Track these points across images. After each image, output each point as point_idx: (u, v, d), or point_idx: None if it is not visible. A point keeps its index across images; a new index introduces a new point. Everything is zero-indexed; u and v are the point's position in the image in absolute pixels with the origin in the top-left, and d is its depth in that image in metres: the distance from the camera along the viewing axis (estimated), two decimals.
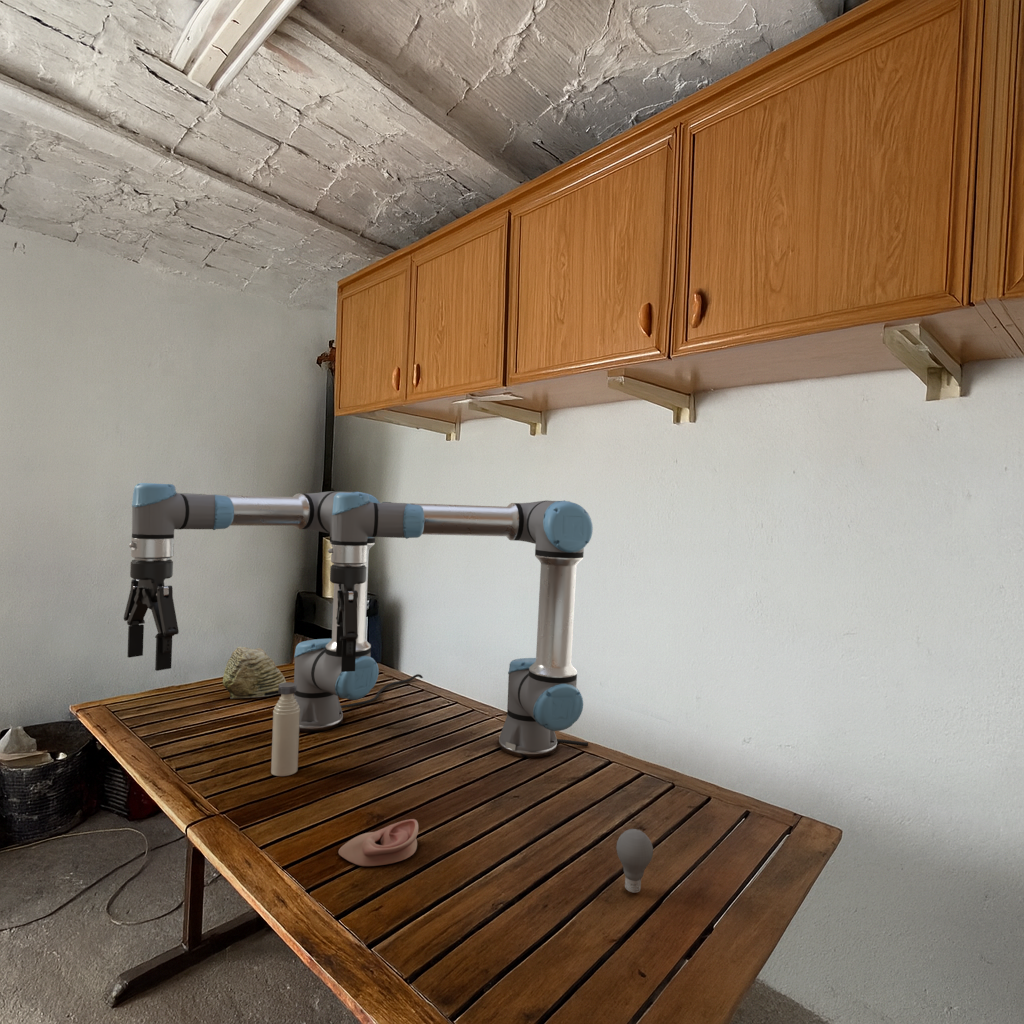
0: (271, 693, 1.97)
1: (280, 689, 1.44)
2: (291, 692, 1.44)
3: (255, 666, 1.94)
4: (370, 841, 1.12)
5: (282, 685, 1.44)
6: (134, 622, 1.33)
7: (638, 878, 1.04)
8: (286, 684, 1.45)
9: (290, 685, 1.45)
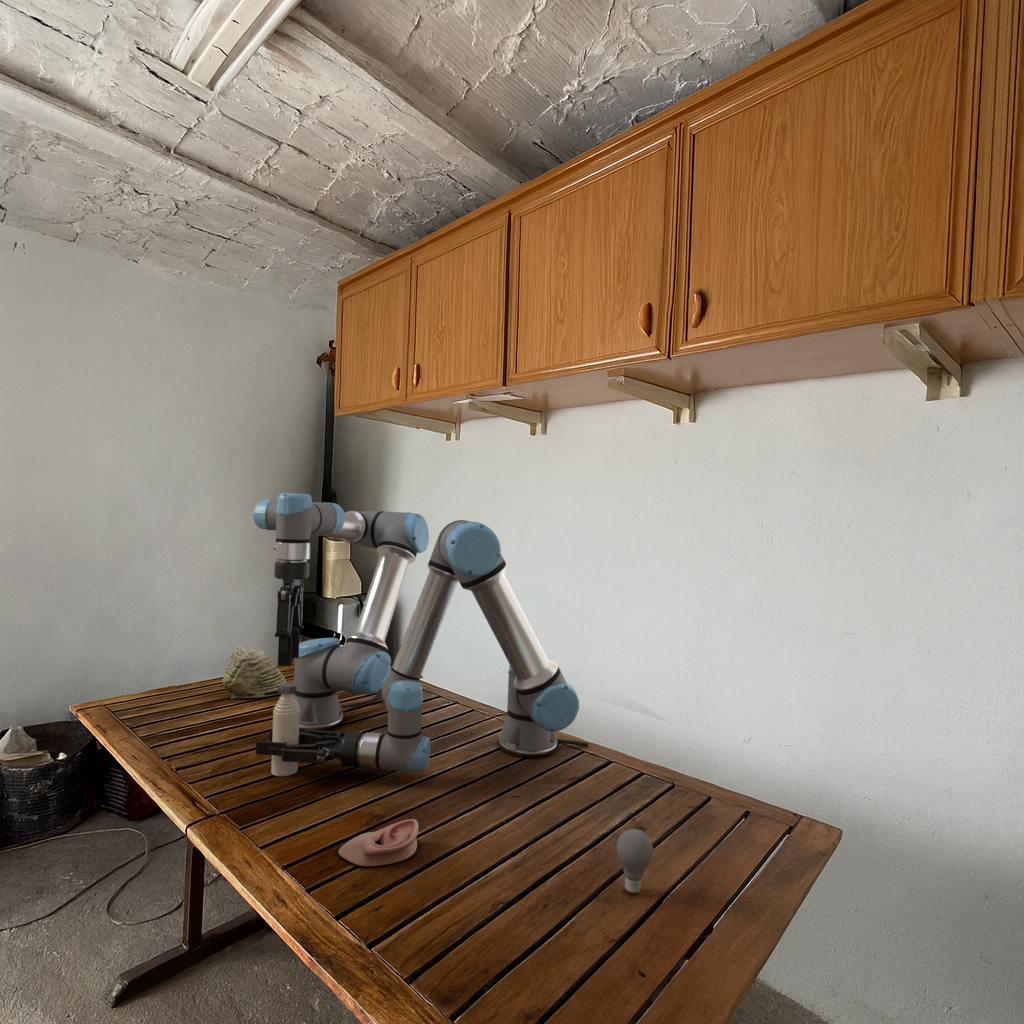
0: (271, 693, 1.97)
1: (280, 689, 1.44)
2: (291, 692, 1.44)
3: (255, 666, 1.94)
4: (370, 841, 1.12)
5: (282, 685, 1.44)
6: (293, 626, 1.49)
7: (638, 878, 1.04)
8: (286, 684, 1.45)
9: (290, 685, 1.45)
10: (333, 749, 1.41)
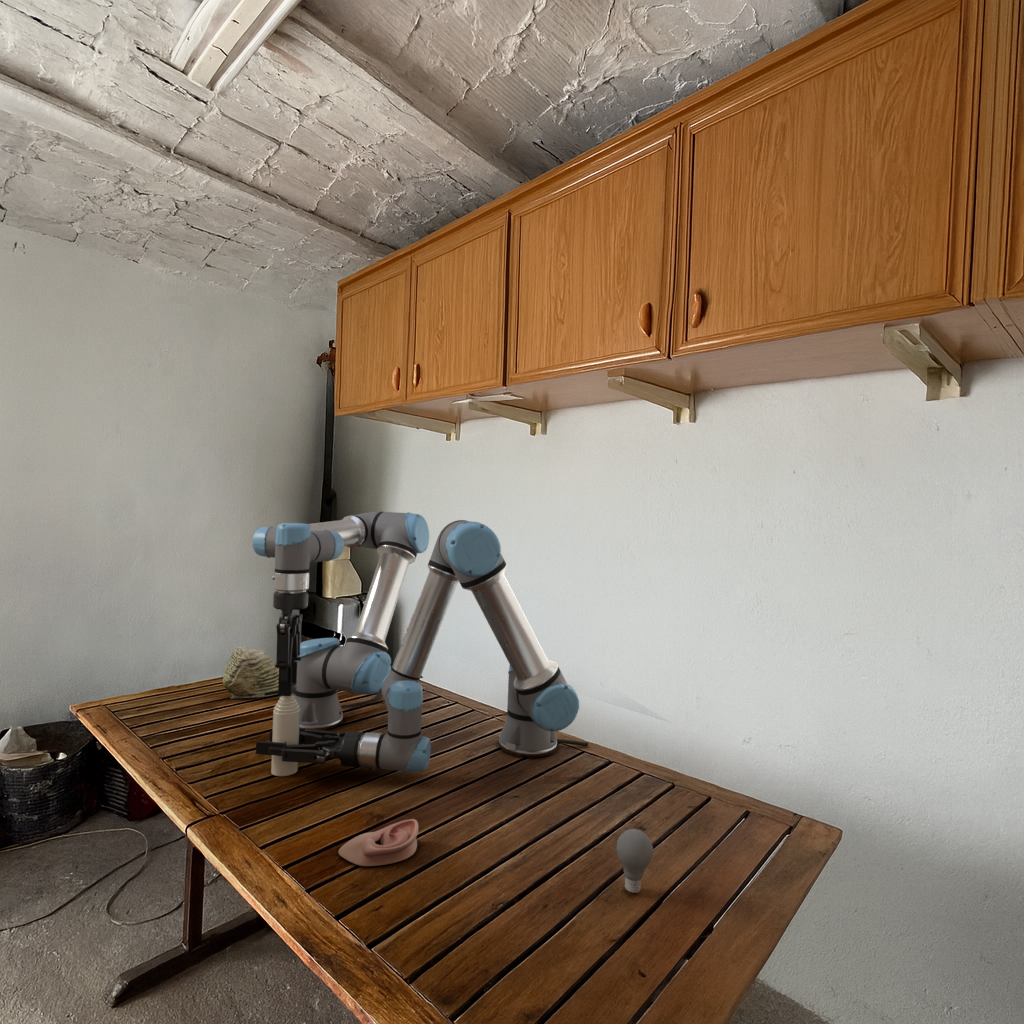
0: (271, 693, 1.97)
1: None
2: (291, 692, 1.44)
3: (255, 666, 1.94)
4: (370, 841, 1.12)
5: None
6: None
7: (638, 878, 1.04)
8: None
9: None
10: (333, 749, 1.41)
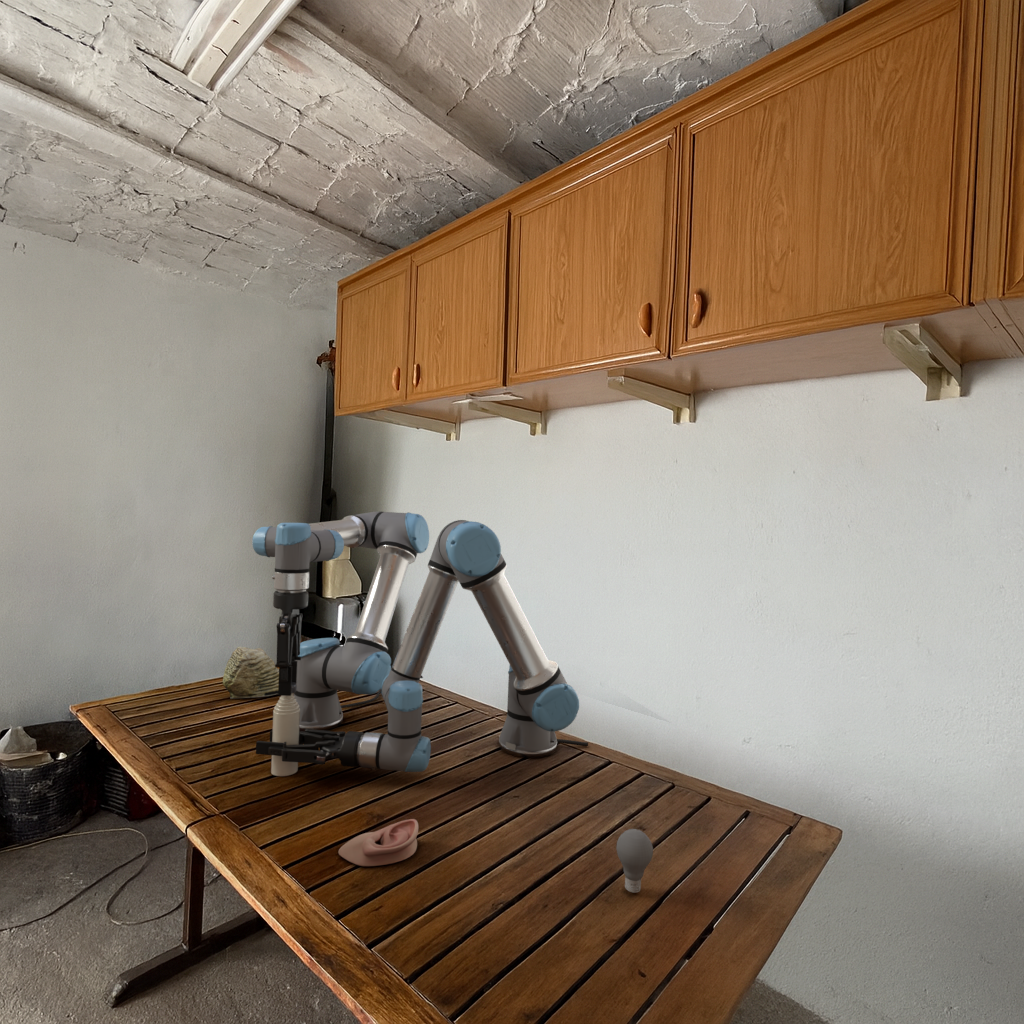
0: (271, 693, 1.97)
1: (294, 688, 1.44)
2: None
3: (255, 666, 1.94)
4: (370, 841, 1.12)
5: None
6: None
7: (638, 878, 1.04)
8: None
9: None
10: (333, 749, 1.41)
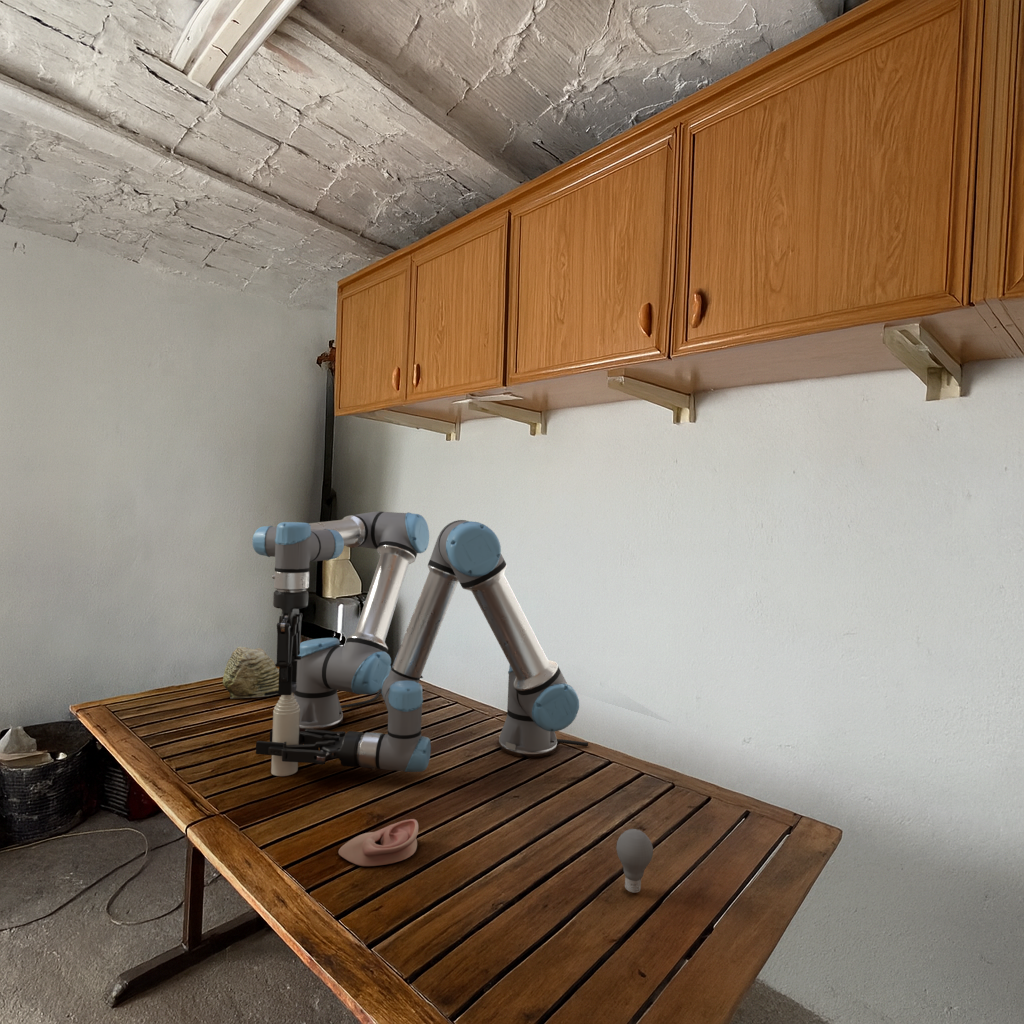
0: (271, 693, 1.97)
1: None
2: None
3: (255, 666, 1.94)
4: (370, 841, 1.12)
5: None
6: None
7: (638, 878, 1.04)
8: None
9: None
10: (333, 749, 1.41)
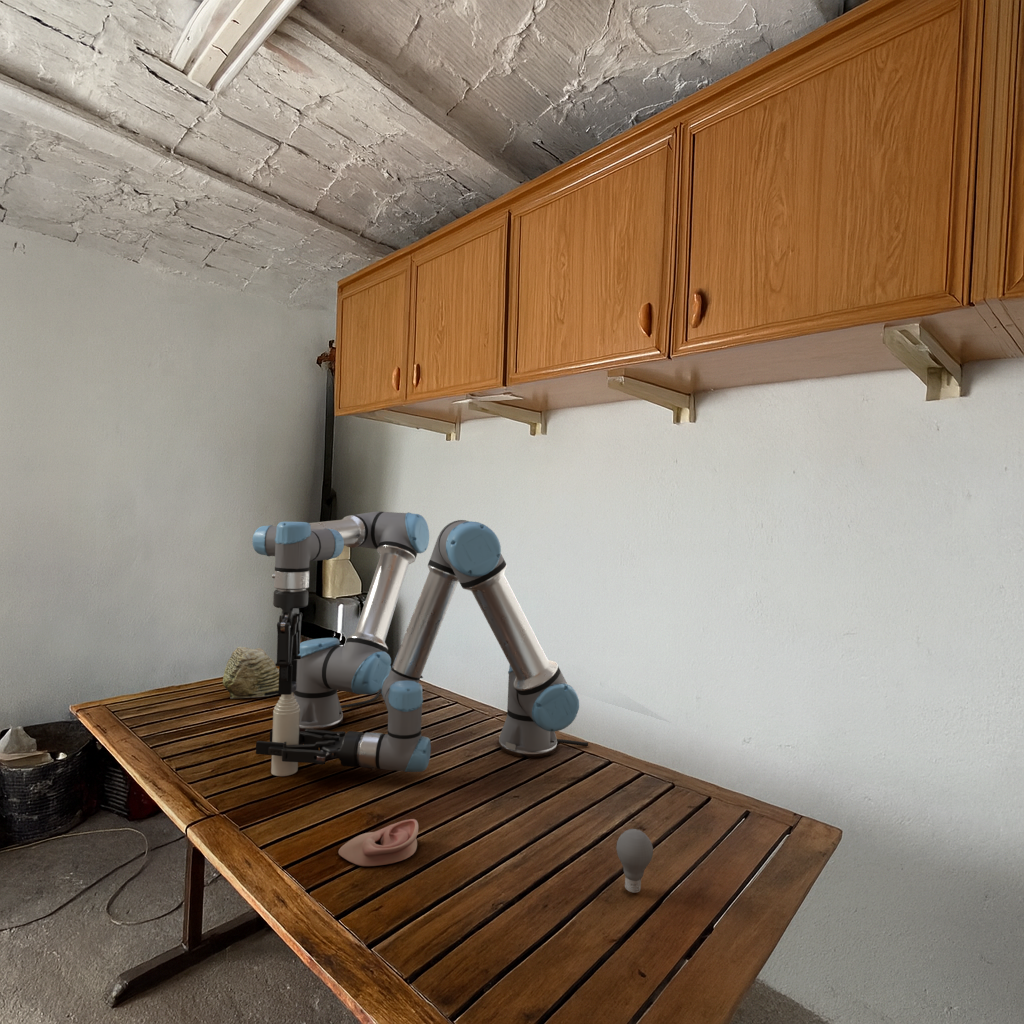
0: (271, 693, 1.97)
1: None
2: None
3: (255, 666, 1.94)
4: (370, 841, 1.12)
5: None
6: None
7: (638, 878, 1.04)
8: None
9: None
10: (333, 749, 1.41)
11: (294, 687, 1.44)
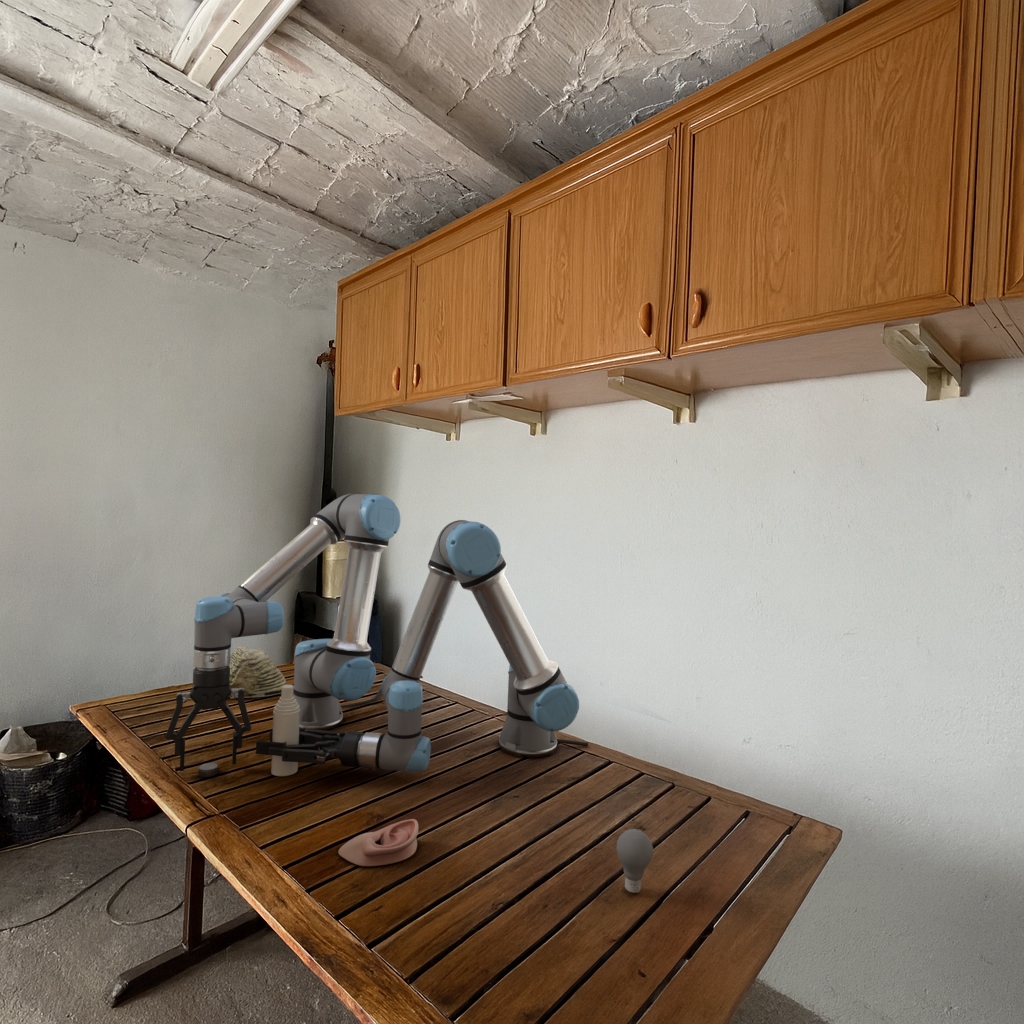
0: (271, 693, 1.97)
1: (210, 772, 1.41)
2: None
3: (255, 666, 1.94)
4: (370, 841, 1.12)
5: (208, 768, 1.41)
6: None
7: (638, 878, 1.04)
8: (207, 766, 1.42)
9: (213, 765, 1.43)
10: (333, 749, 1.41)
11: None
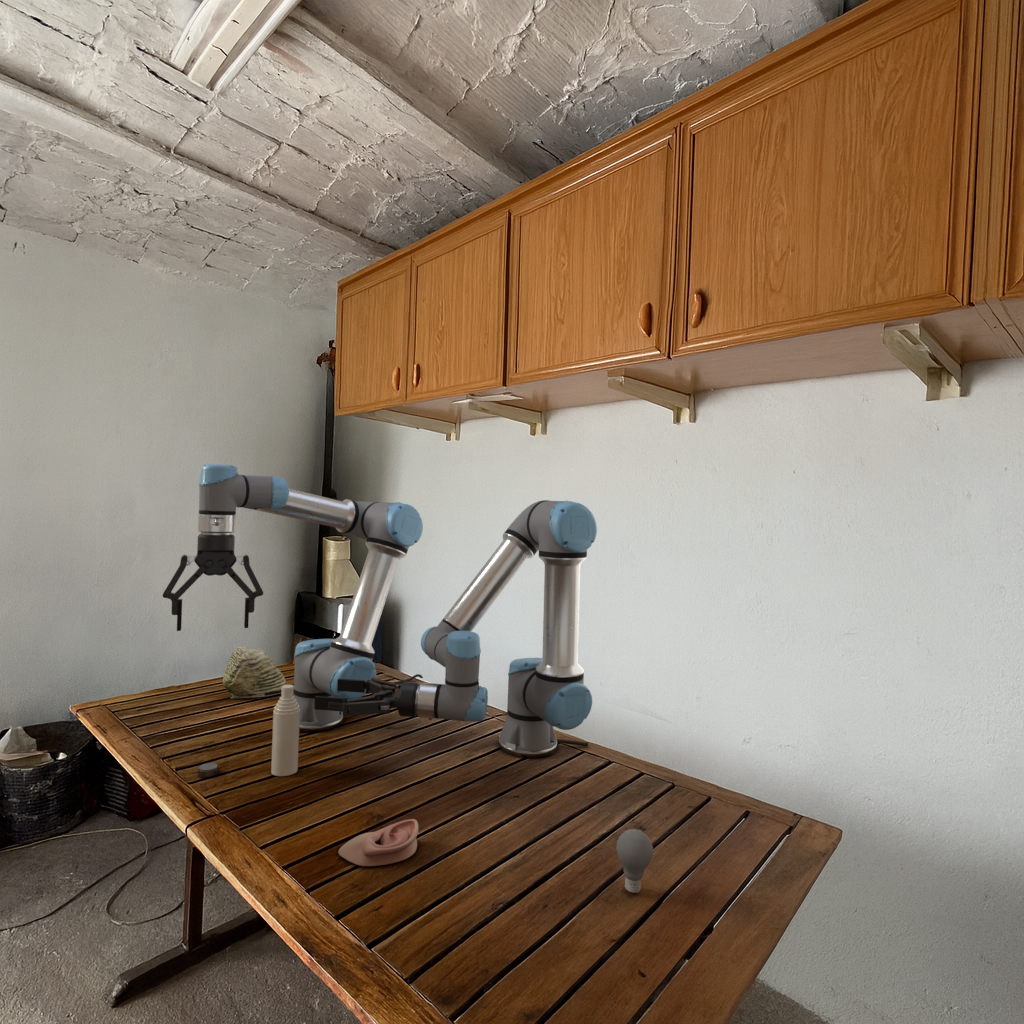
0: (271, 693, 1.97)
1: (210, 772, 1.41)
2: None
3: (255, 666, 1.94)
4: (370, 841, 1.12)
5: (208, 768, 1.41)
6: None
7: (638, 878, 1.04)
8: (207, 766, 1.42)
9: (213, 765, 1.43)
10: (392, 698, 1.40)
11: None
